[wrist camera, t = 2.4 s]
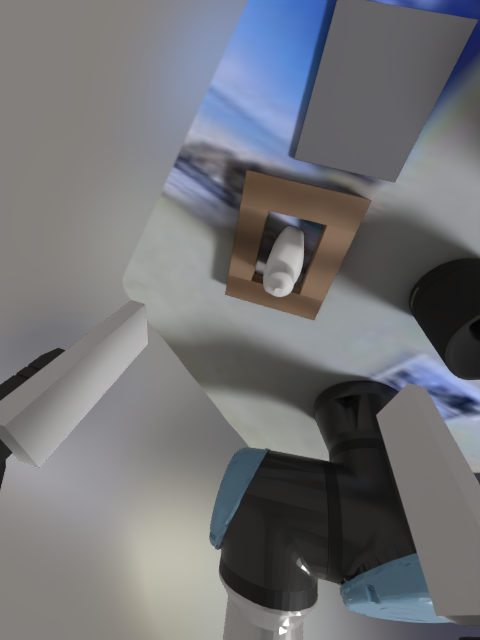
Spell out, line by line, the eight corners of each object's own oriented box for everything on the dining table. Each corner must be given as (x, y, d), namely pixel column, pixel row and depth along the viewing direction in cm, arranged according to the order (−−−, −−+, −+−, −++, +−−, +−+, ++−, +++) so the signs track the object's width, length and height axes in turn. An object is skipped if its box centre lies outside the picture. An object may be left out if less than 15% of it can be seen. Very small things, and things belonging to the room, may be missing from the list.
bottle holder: (313, 310, 32) (314, 320, 30) (229, 286, 33) (225, 294, 31) (365, 197, 23) (371, 200, 21) (251, 170, 24) (246, 170, 22)
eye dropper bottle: (316, 248, 27) (324, 291, 17) (279, 276, 30) (269, 326, 20) (294, 219, 26) (289, 248, 16) (258, 251, 29) (236, 292, 19)
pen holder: (464, 236, 23) (550, 271, 15) (527, 284, 24) (639, 342, 16) (386, 300, 29) (419, 351, 21) (440, 338, 30) (492, 400, 22)
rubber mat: (393, 181, 22) (395, 182, 22) (294, 159, 23) (294, 158, 22) (473, 24, 16) (478, 19, 16) (337, 0, 17) (338, -5, 17)
